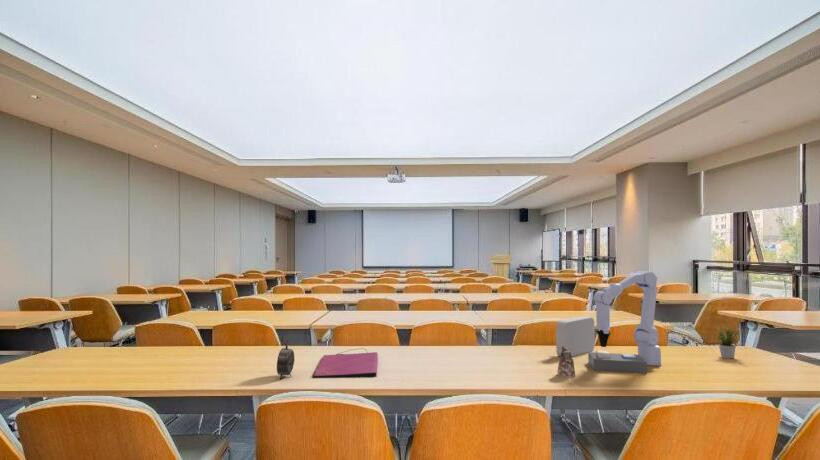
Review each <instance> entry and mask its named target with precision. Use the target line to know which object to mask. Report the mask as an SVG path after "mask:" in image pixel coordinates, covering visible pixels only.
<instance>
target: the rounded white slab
mask: <svg viewBox="0 0 820 460" xmlns="http://www.w3.org/2000/svg"><path fill="white" fill-rule="evenodd" d="M555 326H556V327H555V337H556V338H555V340H556V341H555V346H556V356H559V357H561V351H562V347H564V348H569V349H570V350H571V355H572V358H573V357H576V356H580V355H584V354H586V353H587V354H588V352H592V351H593V352H594V350H595V346H596V345H595V344H596V343H595V341H596V340H595V339H596V338H595V328H594V326H595V319H594V317H591V316H577V317H571V318H566V319H561V320H558V321H557V322H556V325H555Z"/></svg>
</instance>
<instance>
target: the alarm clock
mask: <svg viewBox="0 0 820 460" xmlns="http://www.w3.org/2000/svg"><path fill="white" fill-rule="evenodd" d="M288 344H289V339H288V338H286V339H285V345H284V346H285V347H282V348H281V349H280V351H279V352H278V356H277V362H276V373H277V375H278V376H280V377H279V380H280V381H281V380H282V377H283V376H290V377H292V375H291V373H292V372H293V369H294V365H295V352H294V350H293V349H292V348H288Z"/></svg>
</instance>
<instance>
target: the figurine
mask: <svg viewBox="0 0 820 460" xmlns="http://www.w3.org/2000/svg"><path fill="white" fill-rule="evenodd" d="M575 371H576V370H575V362H574V359H573V357H572V355H571V350H570V349H569V348H564V347H562V351H561V356H560V358H559V360H558V366H557V376H558V377H560V378H566V379H572V378H574V377H576V372H575Z"/></svg>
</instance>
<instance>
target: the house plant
mask: <svg viewBox="0 0 820 460" xmlns="http://www.w3.org/2000/svg"><path fill="white" fill-rule="evenodd" d="M722 327H723V329H724V330H725V334H726V335H725V334H724V332H723V330H722V329H721V328H719V327H718V326H716V328H717V329H718V331H717V333H718V335H719V336H718V335H715V338H716V340H717V341H719V342H720V343H719V344H718V346H719V351H720V352H719V353H720V356H722V357H721V358H723V357H724V358H723V359H729V358H733V359H735V353H736V347H737V346H736V345H735V344H733V343H738V341H739V342H740V341H741V340H740V339H738V338H739V336H737V335H738V334H739V333H740V329H742V328H740V327H739V328H735V329H734V328H733V329H730V328H729V327H728V326H727V327H726V326H724V325H722ZM713 329H714V328H713ZM714 330H715V329H714ZM738 330H739V331H738ZM715 331H716V330H715ZM736 336H737V337H736ZM736 340H737V341H736Z"/></svg>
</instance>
